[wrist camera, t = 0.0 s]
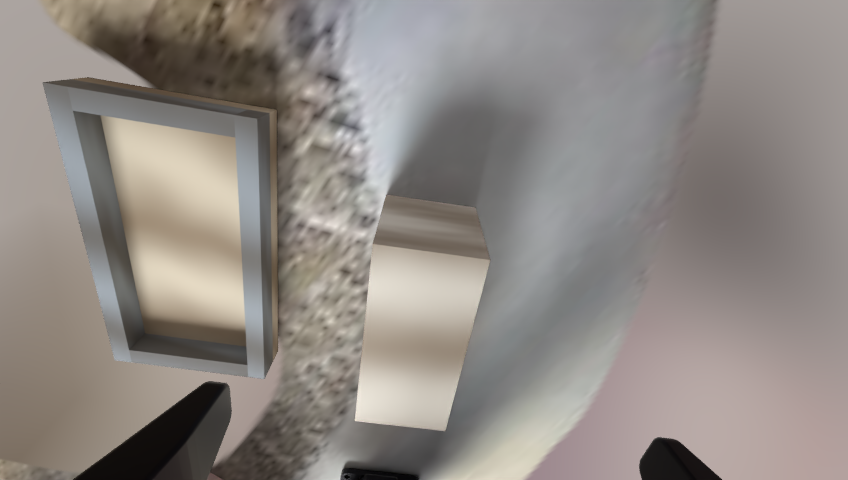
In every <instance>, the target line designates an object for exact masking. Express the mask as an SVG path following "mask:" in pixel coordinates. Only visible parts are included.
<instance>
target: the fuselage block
mask: <svg viewBox="0 0 848 480" xmlns="http://www.w3.org/2000/svg"><path fill="white" fill-rule="evenodd" d="M489 264H490V257H489V253H488V250H487V246H486V243H485V239H484V235H483V232H482V228H481V225H480V221H479V218H478V214H477V211H476V207H469V206H462V205H455V204H448V203H441V202H434V201H427V200H421V199H414V198H407V197H400V196H393V195H386V197H385V201H384V205H383V209H382V212H381V216H380V220H379V223H378V227H377V231H376V234H375V238H374V242H373V247H372V257H371V267H370V277H369V286H368V296H367V306H366V316H365V325H364V335H363V345H362V355H361V364H360V374H359V384H358V394H357V403H356V413H355V421H358V422H367V423H376V424H385V425H394V426H404V427H413V428H422V429H431V430H440V431H446V427H447V423H448V419H449V415H450V412H451V408H452V404H453V400H454V396H455V393H456V389H457V385H458V381H459V377H460V374H461V370H462V366H463V362H464V358H465V355H466V351H467V347H468V343H469V339H470V336H471V332H472V328H473V324H474V321H475V317H476V313H477V309H478V305H479V302H480V298H481V294H482V290H483V286H484V283H485V279H486V275H487V271H488V267H489Z"/></svg>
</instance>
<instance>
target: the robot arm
mask: <svg viewBox="0 0 848 480" xmlns="http://www.w3.org/2000/svg"><path fill="white" fill-rule="evenodd" d="M231 411H232V410H231V398H230V388H229V386H228V384H226V383H221V382H213V381H209V382H205V383H203V384H202V385H201V386H199V387H198V388H197V389H195V390H194V391H192V392H191V393H190V394H188V395H187V396H186V397H185V398H183V399H182V400H180V401H179V402H178V403H176V404H175V405H173V406H172V407H171V408H169V409H168V410H167V411H165V412H164V413H163V414H161V415H160V416H159V417H157V418H156V419H154V420H153V421H152V422H150V423H149V424H148V425H146V426H145V427H144V428H142V429H141V430H140V431H138V432H137V433H135V434H134V435H133V436H131V437H130V438H129V439H127V440H126V441H125V442H123V443H122V444H121V445H119V446H118V447H117V448H115V449H114V450H112V451H111V452H110V453H108V454H107V455H106V456H104V457H103V458H102V459H100V460H99V461H98V462H96V463H95V464H93V465H92V466H91V467H90V468H88V469H87V470H85V471H84V472H83V473H81V474H80V475H78V476H77V477H76V478H74V479H73V480H207V479H208V476H209V473H210V471H211V468H212V466H213V463H214V461H215V458H216V456H217V453H218V450H219V448H220V445H221V443H222V440H223V438H224V435H225V432H226V430H227V427H228V425H229V422H230V418H231ZM639 469H640V474H641V478H642V480H722V479H721V478H720V477H719V476H718V475H716V474H715V473H714V472H713V471H712V470H711V469H710V468H708V467H707V466H706V465H705V464H704V463H703V462H702V461H701V460H700V459H698V458H697V457H696V456H695V455H694V454H693V453H691V452H690V451H689V450H688V449H687V448H686V447H685V446H684V445H683V444H681V443H680V442H679V441H677V440H674V439H669V438H661V437H658V438H655V439H654V440H653V441H652V443H651V444H650V446H649V448H648V449H647V450H646V452H645V453H644V455H643V456H642V458H641V460H640V464H639ZM341 480H419V478H418V477H416V476H409V475H400V474H392V473H383V472H374V471H365V470H356V469H344V470H342V473H341Z"/></svg>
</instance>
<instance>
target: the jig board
mask: <svg viewBox="0 0 848 480" xmlns="http://www.w3.org/2000/svg"><path fill="white" fill-rule="evenodd" d="M43 86H44V90H45V94H46V98H47V101H48V105H49V109H50V113H51V117H52V121H53V124H54V128H55V132H56V136H57V140H58V144H59V148H60V151H61V155H62V159H63V163H64V166H65V171H66V174H67V178H68V182H69V186H70V190H71V194H72V197H73V201H74V205H75V208H76V212H77V216H78V220H79V224H80V228H81V232H82V236H83V239H84V243H85V247H86V251H87V255H88V258H89V263H90V266H91V270H92V274H93V278H94V282H95V285H96V289H97V293H98V297H99V301H100V305H101V309H102V313H103V316H104V320H105V324H106V328H107V332H108V336H109V339H110V343H111V347H112V351H113V355H114V359H115V360H118V361H126V362H134V363H142V364H149V365H158V366H165V367H173V368H182V369H189V370H197V371H205V372H213V373H221V374H229V375H236V376H237V375H238V376H244V377H252V378H260V379H265V377H266V375H267V372H268V370H269V368H270V366H271V364H272V362H273V360H274V358H275V356H276V354H277V352H278V240H277V110H275V109H269V108H263V107H258V106H252V105H246V104H240V103H234V102H229V101H223V100H217V99H211V98H205V97H199V96H194V95H188V94H182V93H176V92H170V91H164V90H159V89H153V88H147V87H141V86H135V85H129V84H123V83H118V82H112V81H106V80H100V79H94V78H89V77H87V78H78V79H70V80H61V81H52V82H43Z"/></svg>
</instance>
